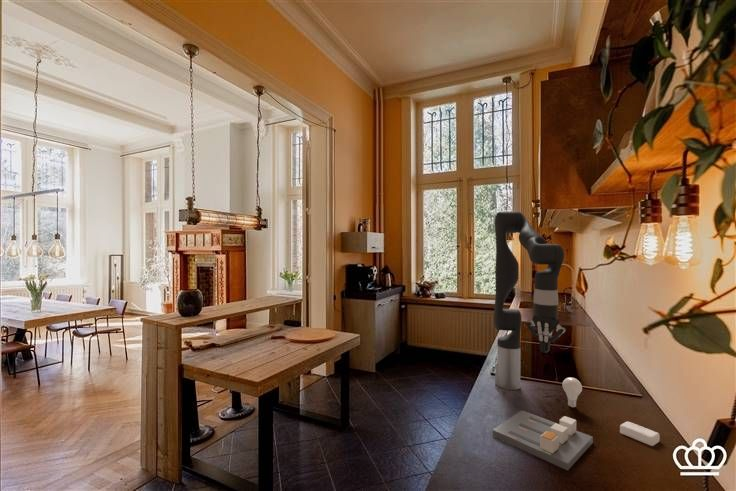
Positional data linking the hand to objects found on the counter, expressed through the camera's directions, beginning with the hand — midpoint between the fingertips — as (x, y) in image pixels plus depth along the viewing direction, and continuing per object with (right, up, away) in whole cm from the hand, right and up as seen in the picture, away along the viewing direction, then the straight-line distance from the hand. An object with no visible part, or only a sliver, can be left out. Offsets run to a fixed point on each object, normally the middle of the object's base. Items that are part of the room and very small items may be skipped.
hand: (544, 351), depth 119 cm
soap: (+26, -25, -9) cm, 37 cm away
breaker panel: (-6, -24, -11) cm, 27 cm away
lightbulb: (+16, -25, +11) cm, 31 cm away
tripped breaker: (-8, -22, -19) cm, 30 cm away
